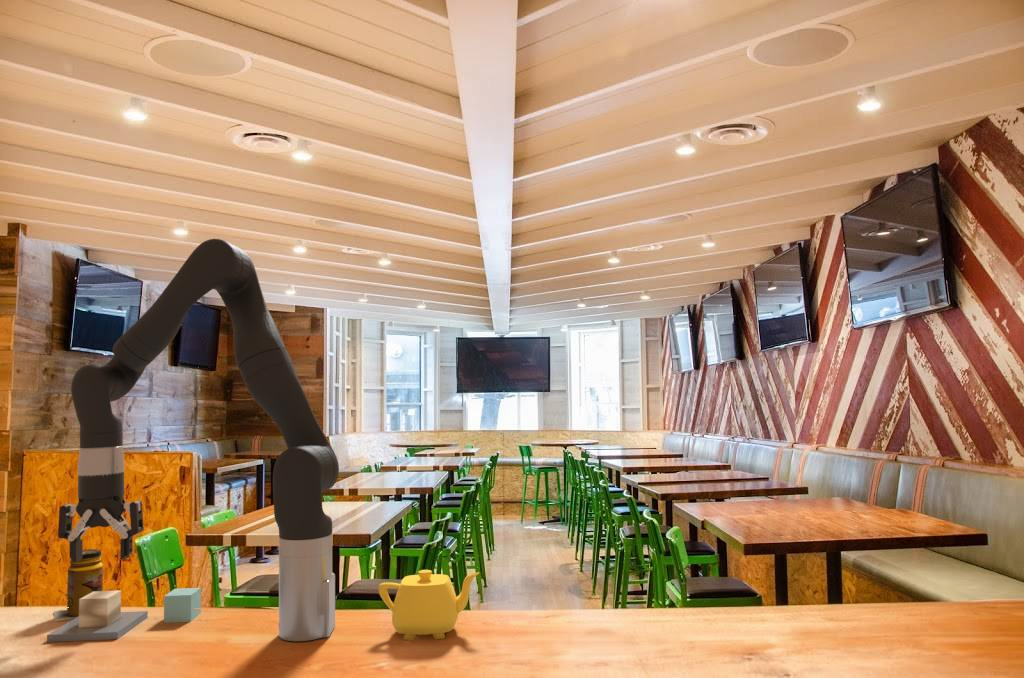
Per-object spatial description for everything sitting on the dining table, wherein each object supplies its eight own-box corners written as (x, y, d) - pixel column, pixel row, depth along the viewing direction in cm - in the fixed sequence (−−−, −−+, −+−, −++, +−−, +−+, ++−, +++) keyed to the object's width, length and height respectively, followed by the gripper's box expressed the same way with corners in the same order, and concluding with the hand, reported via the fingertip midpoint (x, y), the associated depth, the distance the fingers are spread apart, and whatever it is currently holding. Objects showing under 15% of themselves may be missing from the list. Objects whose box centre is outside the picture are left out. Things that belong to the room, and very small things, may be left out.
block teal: (200, 613, 141) (201, 587, 142) (191, 622, 136) (191, 595, 137) (174, 614, 141) (174, 588, 141) (163, 623, 136) (164, 596, 136)
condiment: (105, 614, 142) (106, 552, 143) (54, 622, 137) (56, 558, 138) (102, 605, 148) (103, 545, 149) (53, 613, 143) (55, 551, 144)
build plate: (147, 617, 139) (147, 611, 139) (117, 639, 127) (117, 632, 127) (83, 619, 138) (83, 613, 138) (46, 641, 126) (47, 634, 126)
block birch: (120, 617, 135) (120, 590, 136) (107, 626, 130) (107, 598, 131) (93, 618, 135) (93, 591, 135) (78, 627, 130) (79, 599, 131)
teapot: (480, 620, 133) (479, 561, 134) (479, 641, 122) (478, 577, 123) (383, 623, 133) (382, 564, 134) (373, 645, 122) (373, 580, 123)
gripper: (149, 467, 139) (149, 553, 138) (72, 470, 138) (72, 557, 137) (131, 471, 131) (131, 562, 130) (50, 475, 130) (49, 566, 129)
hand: (101, 559), depth 133 cm, fingers open, 8 cm apart
